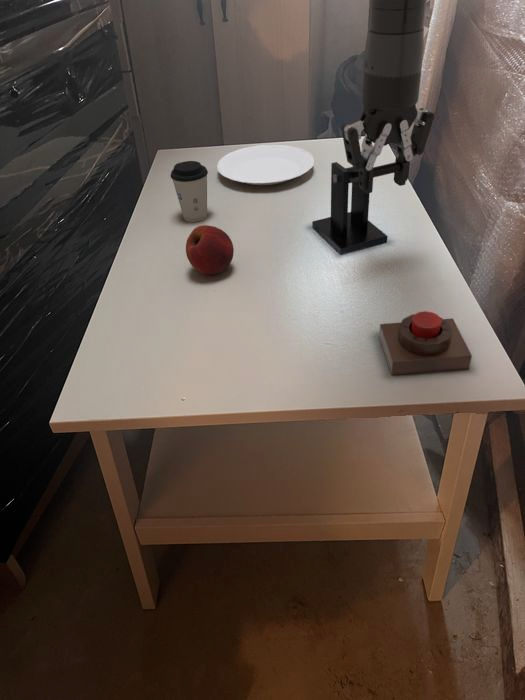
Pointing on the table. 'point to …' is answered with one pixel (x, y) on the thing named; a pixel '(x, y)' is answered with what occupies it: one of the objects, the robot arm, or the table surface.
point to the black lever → (375, 171)
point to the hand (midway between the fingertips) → (383, 187)
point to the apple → (209, 249)
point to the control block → (423, 348)
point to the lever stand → (348, 216)
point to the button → (426, 325)
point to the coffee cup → (191, 189)
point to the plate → (265, 164)
